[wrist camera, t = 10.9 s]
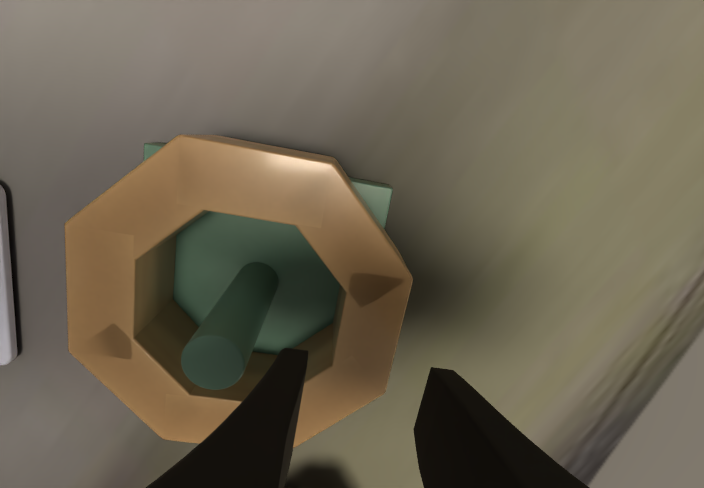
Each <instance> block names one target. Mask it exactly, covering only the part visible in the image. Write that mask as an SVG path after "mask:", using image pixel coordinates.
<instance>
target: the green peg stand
mask: <svg viewBox="0 0 704 488" xmlns="http://www.w3.org/2000/svg"><path fill="white" fill-rule="evenodd" d="M164 145H166V144H165V143H145V144H144V161H145V160H146V159H148V158H149V157H150V156H152V155H153V154H154V153H155V152H157V151H158V150H159V149H161V148H162V147H163V146H164ZM348 178H349V179H350V180H351V182H352V183H353V185H354V186H355V188H356V189H357V191H358V192H359V194H360V195H361V197H362V198H363V199H364V201H365V202H366V204H367V205H368V207H369V208H370V210H371V211H372V213H373V214H374V216H375V217H376V218H377V220H378V221H379V223H380V224H381V226H382V227H383V229H385V224H386V219H387V215H388V210H389V205H390V201H391V196H392V192H393V189H392V188H391V187H390V186H389V185H388V184H382V183H377V182H372V181H366V180H361V179H355V178H350V177H348ZM339 288H340V284H339V282H338V281H337V280H336V278H335V277H334V276H333V274H332V273H331V272H330V270H329V269H328V268H327V266H326V265H325V264H324V262H323V261H322V260H321V258H320V257H319V256H318V255H317V253H316V252H315V251H314V249H313V248H312V247H311V245H310V244H309V243H308V241H307V240H306V239H305V237H304V236H303V235H302V233H301V232H300V231H299V230H298V228H297V227H296V226H295V225H289V224H283V223H278V222H272V221H266V220H260V219H254V218H248V217H242V216H236V215H230V214H224V213H218V212H212V211H209V212H207V213H206V214H205V215H203V216H202V217H201V218H199V219H198V220H196V221H195V222H194V223H192V224H191V225H190V226H188V227H187V228H186V229H184V230H183V231H181V232H180V233H179V234H177V235H176V253H175V271H174V289H173V300H174V301H175V302H176V303H177V304H178V305H179V306H180V307H181V308H182V310H183V311H184V312H185V313H186V314H187V315H188V316H189V317H190V318H191V319H192V320H193V321H194V323H195V324H196V325H197V326H198V327H199V328H198V329H197V331H196V332H195V333H194V335H193V336H192V338H191V339H190V340H189V342H188V343H187V345H186V346H185V347H184V349H183V351H182V355H181V365H182V369H183V371H184V373H185V375H186V376H187V377H188V379H189V380H190V381H192V382H193V383H194V384H196V385H198V386H200V387H202V388H205V389H210V390H220V389H225V388H228V387H230V386H232V385H234V384H235V383H236V382H238V381H239V380H240V378H241V377H242V375H243V374H244V371H245V369H246V366H247V363H248V361H249V358H250V356H251V353H252V352H258V353H266V354H273V355H278V354H279V352H280V351H281V350H282V349H284V348H292V349H293V348H294V347H296V346H298V345H299V344H301V343H302V342H304V341H305V340H307V339H308V338H310V337H312V336H313V335H315V334H316V333H318V332H319V331H321V330H322V329H324V328H326V327H327V326H329V325H330V324H332V323H333V320H334V314H335V309H336V304H337V298H338V293H339Z"/></svg>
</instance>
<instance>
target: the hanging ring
mask: <svg viewBox="0 0 704 488" xmlns="http://www.w3.org/2000/svg"><path fill="white" fill-rule="evenodd" d="M209 211H212V212H218V213H224V214H230V215H236V216H242V217H248V218H254V219H260V220H266V221H272V222H278V223H283V224H289V225H295V226H296V227H297V228H298V230H299V231H300V232H301V233H302V235H303V236H304V237H305V239H306V240H307V241H308V243H309V244H310V245H311V247H312V248H313V249H314V251H315V252H316V253H317V255H318V256H319V257H320V258H321V260H322V261H323V262H324V264H325V265H326V266H327V268H328V269H329V270H330V272H331V273H332V274H333V276H334V277H335V278H336V280H337V281H338V282H339V284H340V288H339V293H338V298H337V304H336V309H335V314H334V320H333V323H332V324H330V325H329V326H327V327H326V328H324V329H322V330H321V331H319V332H318V333H316V334H315V335H313V336H312V337H310V338H308V339H307V340H305V341H304V342H302V343H301V344H299V345H298V346H296V347H294V348H293V349H299V350H307V351H308V362H307V369H306V375H305V381H304V387H303V393H302V398H301V404H300V410H299V416H298V422H297V428H296V433H295V439H294V445H293V448H295V447H296V446H298V445H300V444H301V443H303V442H305V441H306V440H308V439H310V438H311V437H313V436H315V435H316V434H318V433H320V432H321V431H323V430H325V429H326V428H328V427H330V426H331V425H333V424H335V423H336V422H338V421H340V420H341V419H343V418H345V417H346V416H348V415H350V414H351V413H353V412H355V411H356V410H358V409H360V408H361V407H363V406H365V405H366V404H368V403H370V402H371V401H373V400H375V399H376V398H378V397H380V396H381V395H383V394H384V393H385V392H386V388H387V383H388V379H389V375H390V371H391V367H392V363H393V359H394V355H395V351H396V347H397V343H398V339H399V335H400V331H401V327H402V323H403V319H404V315H405V311H406V307H407V302H408V298H409V294H410V290H411V286H412V282H413V278H412V275H411V273H410V272H409V270H408V268H407V266H406V264H405V262H404V260H403V258H402V257H401V255H400V253H399V251H398V249H397V248H396V246H395V245H394V243H393V242H392V240H391V239H390V237H389V236H388V235H387V233H386V232H385V230H384V229H383V227H382V226H381V224H380V223H379V221H378V220H377V218H376V217H375V216H374V214H373V213H372V211H371V210H370V208H369V207H368V205H367V204H366V202H365V201H364V199H363V198H362V197H361V195H360V194H359V192H358V191H357V189H356V188H355V186H354V185H353V183H352V182H351V180H350V179H349V178H348V176H347V175H346V173H345V172H344V170H343V169H342V167H341V166H340V164H339V163H338V162H337V160H336V159H335V158H334V157H330V156H325V155H320V154H314V153H309V152H303V151H298V150H293V149H287V148H282V147H277V146H271V145H266V144H261V143H255V142H250V141H245V140H239V139H234V138H229V137H223V136H218V135H179V136H176V137H175V138H173V139H172V140H171V141H170V142H168V143H167V144H166V145H164V146H163V147H162V148H161V149H159V150H158V151H157V152H155V153H154V154H153V155H152V156H150V157H149V158H148V159H146V160H145V161H144V162H143V163H141V164H140V165H139V166H137V167H136V168H135V169H134V170H132V171H131V172H130V173H128V174H127V175H126V176H124V177H123V178H122V179H121V180H119V181H118V182H117V183H115V184H114V185H113V186H112V187H110V188H109V189H108V190H106V191H105V192H104V193H103V194H101V195H100V196H99V197H97V198H96V199H95V200H94V201H92V202H91V203H90V204H88V205H87V206H86V207H85V208H83V209H82V210H81V211H79V212H78V213H77V214H75V215H74V216H73V217H72V218H70V219H69V220H68V221H67V222H66V223H65V254H66V286H67V319H68V351H69V352H70V353H71V354H72V355H73V356H74V357H75V358H76V359H77V360H78V361H79V362H80V363H81V364H82V365H83V366H85V367H86V368H87V369H88V370H89V371H90V372H91V373H92V374H93V375H94V376H95V377H96V378H97V379H99V380H100V381H101V382H102V383H103V384H104V385H105V386H106V387H107V388H108V389H109V390H110V391H111V392H112V393H114V394H115V395H116V396H117V397H118V398H119V399H120V400H121V401H122V402H123V403H124V404H125V405H126V406H127V407H129V408H130V409H131V410H132V411H133V412H134V413H135V414H136V415H137V416H138V417H139V418H140V419H141V420H142V421H144V422H145V423H146V424H147V425H148V426H149V427H150V428H151V429H152V430H153V431H154V432H155V433H156V434H158V435H159V436H160V437H161V438H163V439H164V440H173V441H182V442H190V443H199V444H200V443H201V442H202V441H203V440H205V439H206V438H207V437H208V436H209V435H210V434H211V433H212V432H213V431H214V430H215V429H216V428H217V427H218V426H219V425H220V424H221V423H222V422H223V421H224V420H225V419H226V418H227V417H228V416H229V415H230V414H231V413H232V412H233V411H234V410H235V409H236V408H237V407H238V406H239V405H240V404H241V402H242V401H243V400H244V399H245V398H246V397H247V396H248V395H249V393H250V392H251V391H252V390H253V389H254V387H255V386H256V385H257V384H258V383H259V381H260V380H261V379H262V378H263V376H264V375H265V374H266V372H267V371H268V370H269V368H270V367H271V365H272V364H273V362H274V361H275V359H276V358H277V356H278V355H273V354H266V353H258V352H252V353H251V356H250V358H249V361H248V363H247V366H246V369H245V371H244V374H243V375H242V377H241V378H240V380H239V381H238V382H236V383H235V384H234V385H232V386H230V387H228V388H225V389H220V390H210V389H205V388H202V387H200V386H198V385H196V384H194V383H193V382H192V381H190V380H189V379H188V377H187V376H186V375H185V373H184V371H183V369H182V365H181V355H182V351H183V349H184V347H185V346H186V345H187V343H188V342H189V340H190V339H191V338H192V336H193V335H194V333H195V332H196V331H197V329H198V328H199V327H198V326H197V325H196V324H195V323H194V321H193V320H192V319H191V318H190V317H189V316H188V315H187V314H186V313H185V312H184V311H183V310H182V308H181V307H180V306H179V305H178V304H177V303H176V302H175V301H174V300H173V289H174V271H175V253H176V235H177V234H179V233H180V232H181V231H183V230H184V229H186V228H187V227H188V226H190V225H191V224H192V223H194V222H195V221H196V220H198V219H199V218H201V217H202V216H203V215H205V214H206V213H207V212H209Z"/></svg>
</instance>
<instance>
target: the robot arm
mask: <svg viewBox="0 0 704 488" xmlns="http://www.w3.org/2000/svg"><path fill="white" fill-rule="evenodd" d="M16 357H17V340H16V326H15V313H14V299H13V285H12V272H11V258H10V245H9V231H8V217H7V204H6V194H5V190H4V189H3V187H2V186H1V185H0V365H6V364H8V363H10V362H11V361H13V360H14V359H15V358H16ZM307 362H308V351H307V350H299V349H292V348H284V349H282V350H281V351H280V352H279V354H278V356H277V358H276V359H275V361H274V362H273V364H272V365H271V367H270V368H269V370H268V371H267V372H266V374H265V375H264V376H263V378H262V379H261V380H260V381H259V383H258V384H257V385H256V386H255V387H254V389H253V390H252V391H251V392H250V393H249V395H248V396H247V397H246V398H245V399H244V400H243V401H242V402H241V404H240V405H239V406H238V407H237V408H236V409H235V410H234V411H233V412H232V413H231V414H230V415H229V416H228V417H227V418H226V419H225V420H224V421H223V422H222V423H221V424H220V425H219V426H218V427H217V428H216V429H215V430H214V431H213V432H212V433H211V434H210V435H209V436H208V437H207V438H206V439H205V440H203V441H202V442H201V443H200V444H199V445H198V446H197V447H196V448H194V449H193V450H192V451H191V452H190V453H189V454H188V455H186V456H185V457H184V458H183V459H181V460H180V461H179V462H178V463H176V464H175V465H174V466H173V467H172V468H170V469H169V470H168V471H167V472H165V473H164V474H163V475H162V476H160V477H159V478H158V479H157V480H155V481H154V482H153V483H151V484H150V485H149V486H147V487H146V488H284V486H285V482H286V478H287V473H288V469H289V465H290V461H291V456H292V451H293V445H294V439H295V433H296V428H297V422H298V416H299V410H300V404H301V398H302V393H303V387H304V381H305V375H306V369H307ZM414 436H415V444H416V451H417V458H418V464H419V470H420V474H421V478H422V481H423V485H424V488H589V487H588V486H586V485H585V484H584V483H582V482H581V481H580V480H578V479H577V478H576V477H574V476H573V475H572V474H570V473H569V472H568V471H567V470H565V469H564V468H563V467H562V466H560V465H559V464H558V463H557V462H555V461H554V460H553V459H552V458H551V457H549V456H548V455H547V454H546V453H545V452H543V451H542V450H541V449H540V448H539V447H538V446H536V445H535V444H534V443H533V442H532V441H530V440H529V439H528V438H527V437H526V436H525V435H524V434H522V433H521V432H520V431H519V430H518V429H517V428H516V427H515V426H514V425H512V424H511V423H510V422H509V421H508V420H507V419H506V418H505V417H504V416H503V415H502V414H500V413H499V412H498V411H497V410H496V409H495V408H494V407H493V406H492V405H491V404H490V403H489V402H488V401H487V400H485V399H484V398H483V397H482V396H481V395H480V394H479V393H478V392H477V391H476V390H475V389H474V388H473V387H472V386H471V385H469V384H468V383H467V382H466V381H465V380H464V379H463V378H462V377H461V376H459V375H458V374H457V373H456V372H455V371H453V370H447V369H440V368H433V367H431V369H430V373H429V376H428V380H427V383H426V387H425V391H424V394H423V398H422V401H421V405H420V408H419V412H418V416H417V419H416V423H415V426H414Z"/></svg>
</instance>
